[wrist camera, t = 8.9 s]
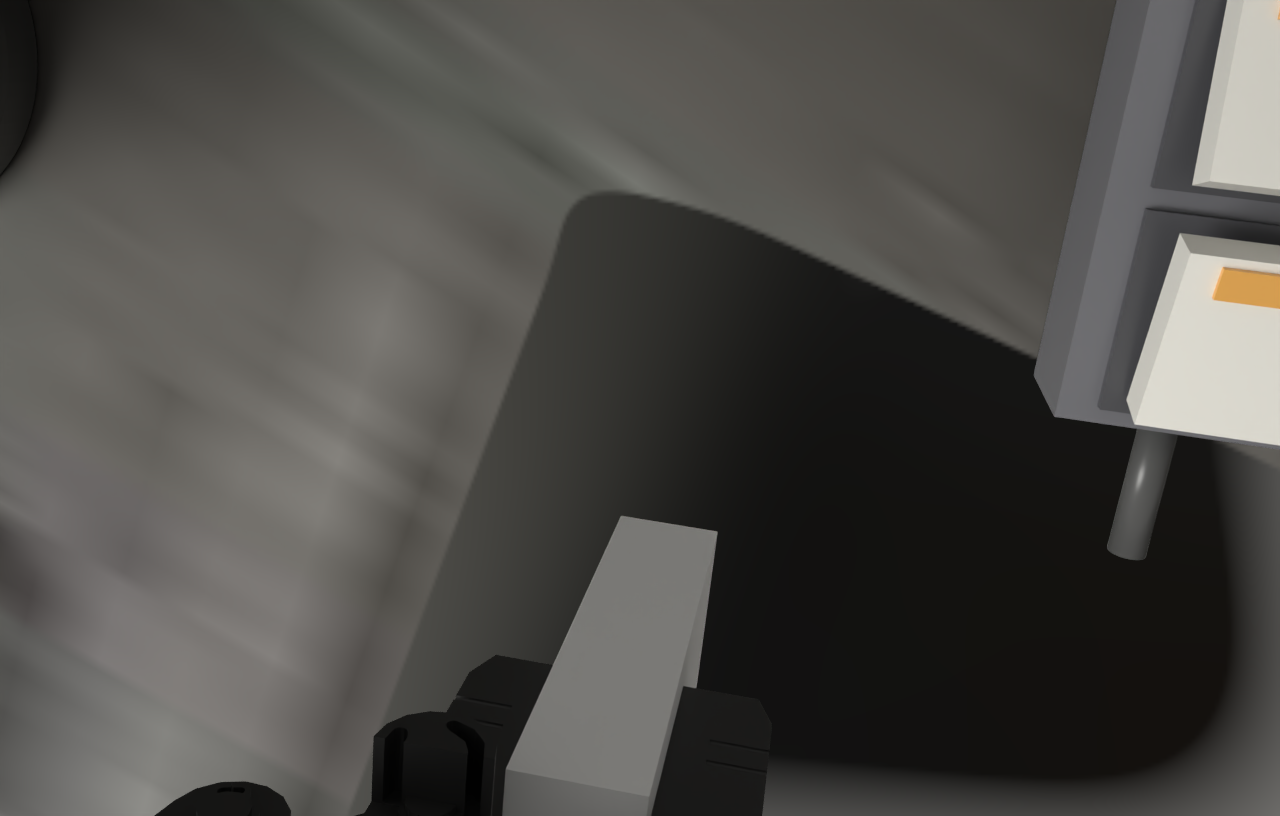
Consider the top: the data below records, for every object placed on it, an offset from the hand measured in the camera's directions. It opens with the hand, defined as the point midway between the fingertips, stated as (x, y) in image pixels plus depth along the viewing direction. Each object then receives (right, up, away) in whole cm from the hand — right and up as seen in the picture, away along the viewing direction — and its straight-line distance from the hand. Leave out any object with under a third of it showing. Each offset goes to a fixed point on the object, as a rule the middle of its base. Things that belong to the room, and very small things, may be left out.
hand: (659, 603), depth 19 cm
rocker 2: (+18, +5, +19) cm, 27 cm away
